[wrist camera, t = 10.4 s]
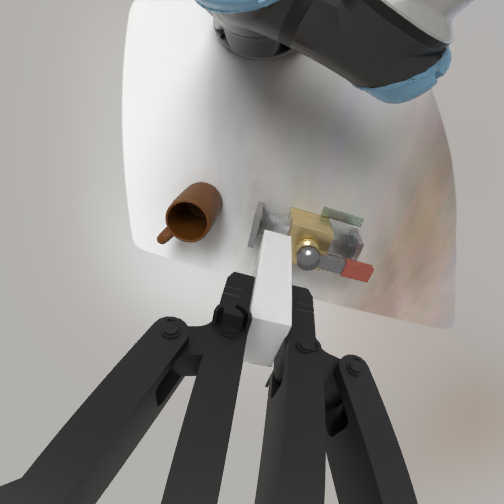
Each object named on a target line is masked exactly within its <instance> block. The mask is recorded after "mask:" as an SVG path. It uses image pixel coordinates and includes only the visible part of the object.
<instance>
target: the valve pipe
mask: <svg viewBox="0 0 504 504" xmlns="http://www.w3.org/2000/svg"><path fill="white" fill-rule="evenodd" d="M263 207H264V203H262V202H259V203H258V207H257V211H256V214H255V218H254V222H253V226H252V231H251V235H250V239H249V243H248V247H252V248H253V247H254V243H255V239H256V236H257V235H259V236H263V234H264V230H268V231H272V232H276V233H280V234H284V235H288V236H291V248H292V264H296V265H298V264H297V251H298V250H299V249H300V248H301V247H302V246H305V245H311V246H314V247H316V248H317V249H318V251H319V253H322V254H326V255H327V253H328V254H332V255H336V256H340V257H342V259H345V258H348V259H351V260H355V261H357V259H358V256H359V254H360V252H361V250H362V248H363V246H364V243H363V241H362V239H361V237H360V235H359V233H358V231H357V229H356V228H351V231H350V233H349V234H346V233H343V232H339V231H336V230H332V227H331V224H330V221H329V218H328V217H330V218H333V219H337V220H340V221H343V222H347V223H350V224H353V225H356V226H360V227H361V224H362V222H363V220H364V219H362V218H359V217H356V216H353V215H349V214H346V213H343V212H340V211H336V210H333V209H330V208H326V207H324V209H323V211H322V214H321V215H323V216H321V215H317V214H314V213H310V212H307V211H303V210H299V209H296V208H292V210H291V213H290V216H289V217H285V216H281V215H277V214H273V213H270V212H266V211H263ZM324 216H326V217H324ZM315 269H316V270H320V269H319V268H315Z"/></svg>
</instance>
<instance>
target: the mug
mask: <svg viewBox="0 0 504 504" xmlns="http://www.w3.org/2000/svg"><path fill="white" fill-rule="evenodd" d="M221 206H222V199H221V196H220V194H219V192H218V190H217V189H216V188H215V187H213V186H212V185H210V184H208V183H203V182H199V183H195V184H192V185H190V186H189V187H188V188H187V189H186V190H185V191H183V192H182V193H181V194H180V195H179V196H178V197H177V198H176V199H175V200H174V201H173V203H172V204H171V205H170V207H169V208H168V210H167V212H166V224H167V227H166V228H165V229H164V230H163V231H162V232H161V233H160V234H159V236H158V237H157V241H158V243H160V244H165V243H166V242H168V241H169V240H170V239H171V238H172V237H174V236H175V237H176V238H178V239H179V240H182V241H185V242H196V241H199V240H201V239H202V238H204V237H205V236H206V234H207V233H208V232H209V230H210V229H211V227H212V225H213V224H214V222H215V220H216V218H217V216H218V214H219V212H220V210H221Z"/></svg>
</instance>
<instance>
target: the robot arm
mask: <svg viewBox="0 0 504 504" xmlns="http://www.w3.org/2000/svg"><path fill="white" fill-rule="evenodd" d="M195 1H196V2H197V3H198V4H199V5H201V7H203V8H205V9H206V10H207V11H208V12H209V13H210V14H211V15H212V16H213V17H214V28H215V31H216V33H217V36H218V37H219V39H220V40H221V41H222V43H223V44H224V45H225V46H227V47H228V48H229V49H230V50H231V51H233V52H234V53H236V54H238V55H240V56H242V57H245V58H249V59H254V60H272V59H278V58H281V57H284V56H286V55H289V54H291V53H292V52H294V51H295V50H296V51H298V52H300V53H301V54H303V55H305V56H307V57H309V58H311V59H313V60H315V61H316V62H318V63H320V64H322V65H324V66H325V67H327V68H329V69H330V70H332V71H334V72H335V73H337V74H339V75H340V76H342V77H343V78H345V79H347V80H348V81H350V82H351V83H352V85H354V86H355V87H356V88H359V89H360V90H364V91H366V92H367V93H369V94H371V95H372V96H374V97H375V98H377V99H378V100H380V101H383V102H385V103H392V104H397V103H403V102H407V101H410V100H412V99H414V98H416V97H418V96H420V95H422V94H423V93H425V92H427V91H428V90H429V89H431V88H432V87H433V86H434V85H435V84H436V83H437V78H438V77H441V76H443V75H444V74H445V73H446V71H447V70H448V68H449V65H450V62H451V51H450V49H449V46H448V45H449V44H450V43H452V42H453V41H454V32H453V19H454V18H455V17H456V16H457V15H459V14H460V13H461V12H462V11H464V10H465V9H466V8H467V7H468V6H470V5H471V4H472V3H474V2H475V1H476V0H195ZM313 312H314V309H313V297H312V295H311V294H310V292H309V290H308V289H306V288H302V287H298V286H293V285H292V248H291V236H288V235H284V234H280V233H276V232H272V231H268V230H264V234H263V237H262V241H261V245H260V248H259V252H258V256H257V259H256V263H255V266H254V270H253V276H249V275H245V274H241V273H237V272H233V273H232V274H231V275H230V276H229V277H228V278H227V281H226V285H225V288H224V291H223V294H222V298H221V301H220V304H219V305H218V306H217V307H216V308H215V310H214V315H213V320H212V322H210V323H209V324H207V325H204V326H191V327H189V326H187V325H186V323H185V322H184V321H182V320H181V319H179V318H176V317H164V318H161V319H159V320H157V321H156V322H155V323H154V324H153V325H152V326H151V327H150V328H149V329H148V330H147V332H146V333H145V334H144V335H143V336H142V337H141V338H140V339H139V340H138V342H137V343H136V344H135V345H134V346H133V347H132V348H131V349H130V350H129V352H128V353H127V354H126V355H125V356H124V357H123V358H122V360H120V362H119V363H118V364H117V365H116V366H115V367H114V368H113V370H112V371H111V372H110V373H109V374H108V375H107V376H106V378H105V379H104V380H103V381H102V382H101V383H100V384H99V385H98V387H97V388H96V389H95V390H94V391H93V392H92V394H91V395H90V396H89V397H88V398H87V399H86V400H85V402H84V403H83V404H82V405H81V406H80V408H79V409H78V410H77V411H76V412H75V413H74V415H73V416H72V417H71V418H70V419H69V421H68V422H67V423H66V424H65V425H64V427H63V428H62V429H61V430H60V431H59V432H58V434H57V435H56V436H55V437H54V439H53V440H52V441H51V442H50V443H49V445H48V446H47V447H46V448H45V449H44V451H43V452H42V453H41V454H40V456H39V457H38V458H37V459H36V461H35V462H34V463H33V464H32V466H31V467H30V468H29V470H28V471H27V472H26V473H25V474H24V476H23V477H22V478H20V479H18V480H15V481H13V482H10V483H8V484H5V485H3V486H0V504H95V503H96V502H97V500H98V499H99V498H100V497H101V495H102V494H103V492H104V491H105V489H106V488H107V487H108V486H109V484H110V483H111V481H112V480H113V479H114V477H115V476H116V474H117V473H118V472H119V470H120V469H121V467H122V466H123V465H124V463H125V462H126V460H127V459H128V457H129V456H130V455H131V453H132V452H133V450H134V449H135V448H136V446H137V445H138V443H139V442H140V440H141V439H142V438H143V436H144V434H145V433H146V432H147V430H148V429H149V428H150V426H151V425H152V423H153V422H154V420H155V419H156V417H157V416H158V414H159V413H160V412H161V410H162V409H163V407H164V406H165V404H166V403H167V402H168V400H169V399H170V397H171V396H172V394H173V393H174V391H175V390H176V388H177V387H178V385H179V384H180V383H181V381H182V380H183V378H184V377H185V376H196V379H195V383H194V387H193V390H192V393H191V397H190V400H189V403H188V407H187V411H186V414H185V417H184V421H183V425H182V429H181V432H180V435H179V439H178V442H177V446H176V450H175V453H174V457H173V461H172V464H171V468H170V472H169V475H168V479H167V483H166V487H165V490H164V494H163V499H162V502H161V504H217V502H218V496H219V491H220V486H221V481H222V475H223V470H224V465H225V459H226V453H227V448H228V443H229V437H230V431H231V426H232V420H233V414H234V409H235V404H236V398H237V392H238V386H239V380H240V375H241V370H242V364H243V361H244V362H248V363H253V364H258V365H263V366H268V367H271V366H272V364H273V362H274V370H273V372H272V374H271V375H270V377H269V379H268V381H267V383H266V386H265V387H268V386H269V391H268V401H267V410H266V420H265V429H264V437H263V445H262V453H261V461H260V469H259V477H258V484H257V491H256V498H255V504H324V495H325V460H326V459H325V458H326V455H325V454H327V457H328V462H329V465H330V469H331V473H332V477H333V482H334V486H335V490H336V494H337V498H338V502H339V504H418V503H417V500H416V496H415V493H414V490H413V486H412V483H411V480H410V476H409V473H408V470H407V467H406V464H405V461H404V458H403V455H402V452H401V449H400V447H399V444H398V441H397V438H396V436H395V433H394V430H393V428H392V425H391V422H390V419H389V417H388V414H387V411H386V409H385V406H384V404H383V401H382V399H381V396H380V394H379V391H378V389H377V386H376V384H375V381H374V379H373V377H372V374H371V372H370V370H369V367H368V365H367V364H366V362H365V361H364V360H363V359H362V358H360V357H358V356H356V355H346V356H344V357H343V358H342V359H339V358H337V357H335V356H332V355H330V354H328V353H326V352H325V351H324V350H323V349H322V348H321V344H320V343H319V342H318V340H317V339H316V337H315V323H314V313H313Z"/></svg>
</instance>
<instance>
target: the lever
mask: <svg viewBox="0 0 504 504" xmlns="http://www.w3.org/2000/svg"><path fill="white" fill-rule="evenodd" d="M297 264H298V266H299V267H300V268H301V269H303V270H313V269H315V268H319V269H323V270H327V271H331V272H335V273H339V274H340V275H341V276H343V277H347V278H351V279H355V280H359V281H363V282H368V280H369V278H370V276H371V274H372V273H373V271H374V269H373V267H372V265H369V264H366V263H362V262H359V261H355V260H351V259H348V258H345V259H341V258H337V257H334V256H330V255H326V254H322V253H319V251H318V249H317V248H316V247H314V246H311V245H305V246H302V247H301V248H300V249H299V250H298V251H297Z"/></svg>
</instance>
